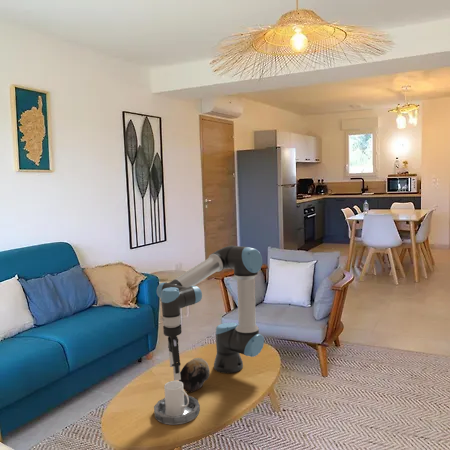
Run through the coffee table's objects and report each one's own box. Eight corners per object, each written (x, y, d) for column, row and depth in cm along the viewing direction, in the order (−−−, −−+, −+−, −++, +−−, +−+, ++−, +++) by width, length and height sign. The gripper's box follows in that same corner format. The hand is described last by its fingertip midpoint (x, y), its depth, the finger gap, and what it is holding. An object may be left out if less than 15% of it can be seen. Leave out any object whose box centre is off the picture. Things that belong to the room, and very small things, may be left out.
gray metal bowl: (195, 398, 210) (194, 392, 209) (203, 420, 191) (202, 413, 191) (153, 405, 205) (152, 398, 205) (157, 428, 187) (156, 421, 186)
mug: (195, 412, 197) (193, 385, 195) (181, 421, 190) (179, 393, 189) (174, 404, 204) (173, 378, 203) (161, 412, 197) (159, 386, 196)
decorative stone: (202, 380, 227) (200, 351, 226) (214, 385, 221) (213, 355, 220) (174, 394, 215) (173, 363, 213) (187, 400, 209) (186, 368, 207)
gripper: (160, 316, 204) (163, 362, 207) (166, 336, 180) (169, 387, 183) (177, 314, 206) (179, 359, 209) (185, 333, 182) (188, 384, 185)
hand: (175, 372), depth 196 cm, fingers open, 13 cm apart
